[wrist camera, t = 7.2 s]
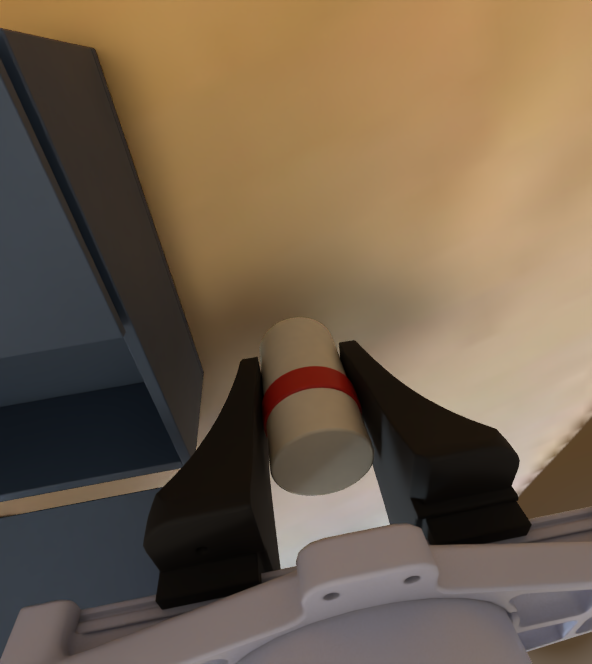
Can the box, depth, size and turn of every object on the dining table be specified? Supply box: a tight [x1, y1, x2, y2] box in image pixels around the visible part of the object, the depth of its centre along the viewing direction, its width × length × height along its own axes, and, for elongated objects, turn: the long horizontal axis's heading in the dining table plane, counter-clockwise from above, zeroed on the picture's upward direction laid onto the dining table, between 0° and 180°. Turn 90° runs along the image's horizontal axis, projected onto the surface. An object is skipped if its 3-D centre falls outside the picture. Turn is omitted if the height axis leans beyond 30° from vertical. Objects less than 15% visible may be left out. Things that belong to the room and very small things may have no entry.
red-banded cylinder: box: [259, 317, 374, 496], centre depth 14 cm, size 3×3×6 cm
